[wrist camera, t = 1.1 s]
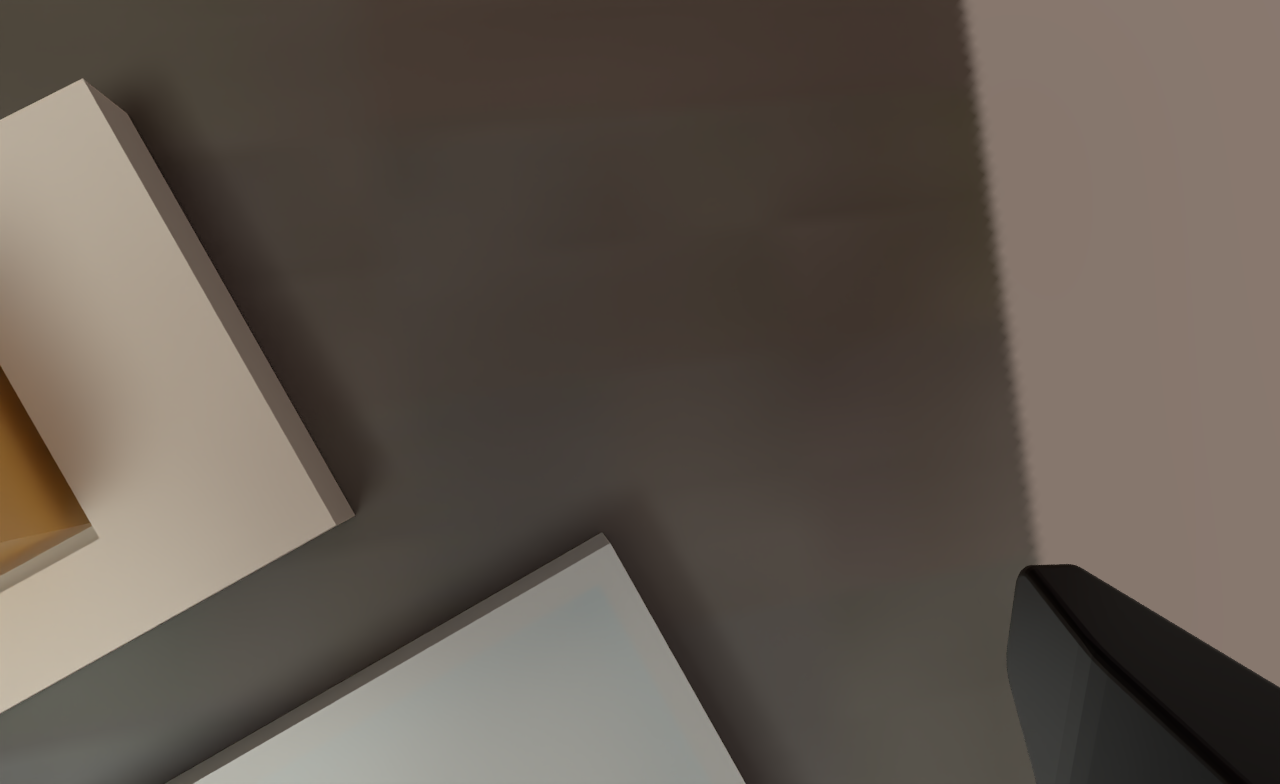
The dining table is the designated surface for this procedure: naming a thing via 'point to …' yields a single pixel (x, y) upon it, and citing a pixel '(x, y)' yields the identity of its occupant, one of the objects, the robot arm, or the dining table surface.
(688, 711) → the parts tray
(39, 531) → the orange rectangular block
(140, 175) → the fuse block
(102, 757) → the dining table surface
